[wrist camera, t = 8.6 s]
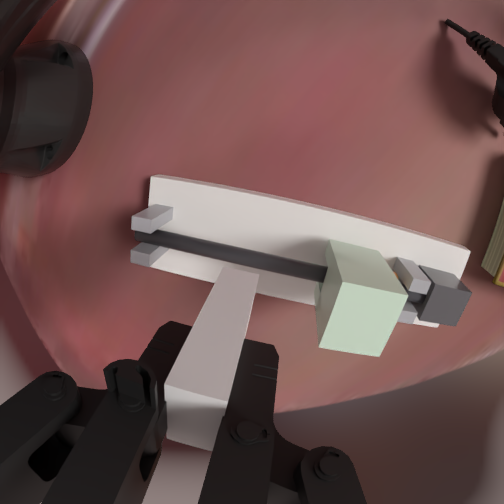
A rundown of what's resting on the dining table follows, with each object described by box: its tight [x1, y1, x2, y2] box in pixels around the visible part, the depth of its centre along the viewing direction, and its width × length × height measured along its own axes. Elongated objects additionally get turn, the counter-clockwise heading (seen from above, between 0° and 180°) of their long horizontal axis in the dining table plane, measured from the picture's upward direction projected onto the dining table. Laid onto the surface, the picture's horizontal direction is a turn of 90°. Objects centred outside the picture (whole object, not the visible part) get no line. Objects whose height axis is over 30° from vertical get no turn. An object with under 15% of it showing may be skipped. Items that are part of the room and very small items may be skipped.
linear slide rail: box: [131, 174, 472, 327], centre depth 22 cm, size 28×8×6 cm, turn 80°
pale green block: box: [314, 239, 408, 357], centre depth 19 cm, size 4×4×7 cm
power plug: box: [445, 19, 504, 135], centre depth 15 cm, size 6×8×12 cm
